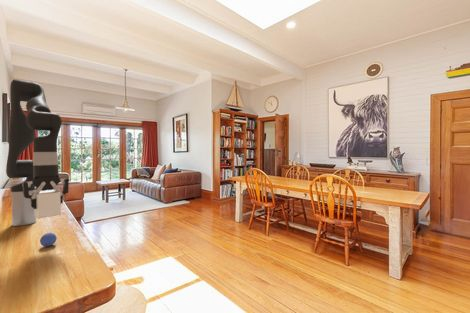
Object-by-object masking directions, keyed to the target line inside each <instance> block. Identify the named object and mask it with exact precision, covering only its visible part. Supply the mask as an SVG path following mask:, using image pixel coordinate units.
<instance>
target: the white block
mask: <svg viewBox="0 0 470 313" xmlns="http://www.w3.org/2000/svg"><path fill="white" fill-rule="evenodd" d="M36 204H37V209H34V212H35V216H36V219H38V220H40V219H45V218H50V217H56V216H57V217H58V216H62V209H61V208H62V207H61V206H62V203H61V199H60V192H56V191H54V190H46V191H40V193H39V194H36Z"/></svg>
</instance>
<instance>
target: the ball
mask: <svg viewBox="0 0 470 313" xmlns="http://www.w3.org/2000/svg"><path fill="white" fill-rule="evenodd" d="M57 240H58V239H57V235H56V234H55V233H54V232H47V233H45V234H43V235H42V236H41V237H40V240H39V243H40V245H41V246H42V247H45V248H46V247H51V246H53V245H54V244H56V242H57Z"/></svg>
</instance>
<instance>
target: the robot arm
mask: <svg viewBox="0 0 470 313" xmlns="http://www.w3.org/2000/svg"><path fill="white" fill-rule="evenodd" d="M9 86H10V89H9V92H10V93H9V94H10V95H9V96H10V97H9V98H10V117H9V128H8V153H7V159H6V160H7V161H6V165H5V168H6V169H5V174H6V176H7V177H8V178H10V179H22V178H24V179H25V180H24V181H22V182H20V183H17V184H14V185H11V187H10V197H11V198H10V199H11V200H10V201H11V225H12V227H18V226H19V227H21V226H27V225H31V224H35V223H37V217H36V216H35V212H34V209H37V204H36V194H39V193H40V192H46V191H56V192H60V199H61V204H63V202H64V199H63V198H64V195H66V194H68V193H69V187H70V186H69V184H70V183H69V181H70V179H69V178H67V177H65V178H60V175H59V162H60V161H59V155H58V137H59V133H60V130H61V128H62V123H63V119H62V117H61V116H60V115H59V114H58V113H55V112H52V111H51V109H50V107H49V106H48V104H47V100H46V96H45V95H46V94H45V91H44V90H45V89H44V87H43V86H42V85H41V84H40V83H37V82H33V81H28V80H23V79H21V80H20V79H13V80H11V82H10V85H9ZM21 102H25V103H26V104H25V108H26V111H27V114H26V112H25V111H24V109H23V107H22V105H21ZM36 131H45V132H47V131H48V132H49V133H48V134H47V135H42V136H36V137H35V135H36ZM32 143H33V144H32ZM31 145H33V147H32V148H33V156H32V159H19V157H20V156H21V155H22V153H23V152H24V151H25V150H26V149H28V147H30V146H31ZM60 182H61V185H62V186H63V188H62V190H61V189H60V188H59V186H58V185H59V184H60Z"/></svg>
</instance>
